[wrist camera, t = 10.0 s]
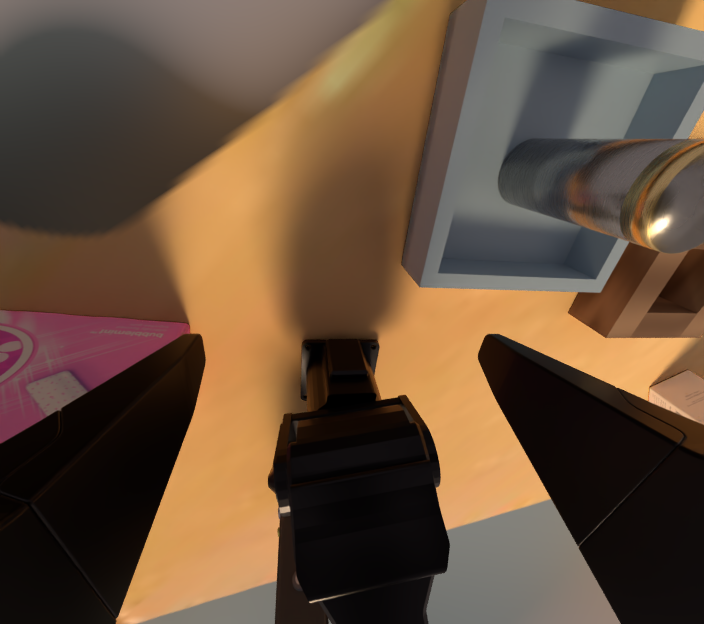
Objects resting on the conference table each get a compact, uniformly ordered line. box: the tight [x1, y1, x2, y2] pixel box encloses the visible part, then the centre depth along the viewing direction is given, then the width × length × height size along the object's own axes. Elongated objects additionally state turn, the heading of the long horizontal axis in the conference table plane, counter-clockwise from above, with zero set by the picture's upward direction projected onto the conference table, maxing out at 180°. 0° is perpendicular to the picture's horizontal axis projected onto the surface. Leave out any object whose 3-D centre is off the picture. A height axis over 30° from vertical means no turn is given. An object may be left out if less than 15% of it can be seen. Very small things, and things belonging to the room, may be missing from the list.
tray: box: [401, 0, 704, 293], centre depth 19 cm, size 14×14×4 cm
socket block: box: [568, 242, 704, 338], centre depth 24 cm, size 10×10×4 cm
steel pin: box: [498, 138, 704, 254], centre depth 15 cm, size 4×4×10 cm
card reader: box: [275, 508, 329, 624], centre depth 28 cm, size 9×4×15 cm, turn 177°
